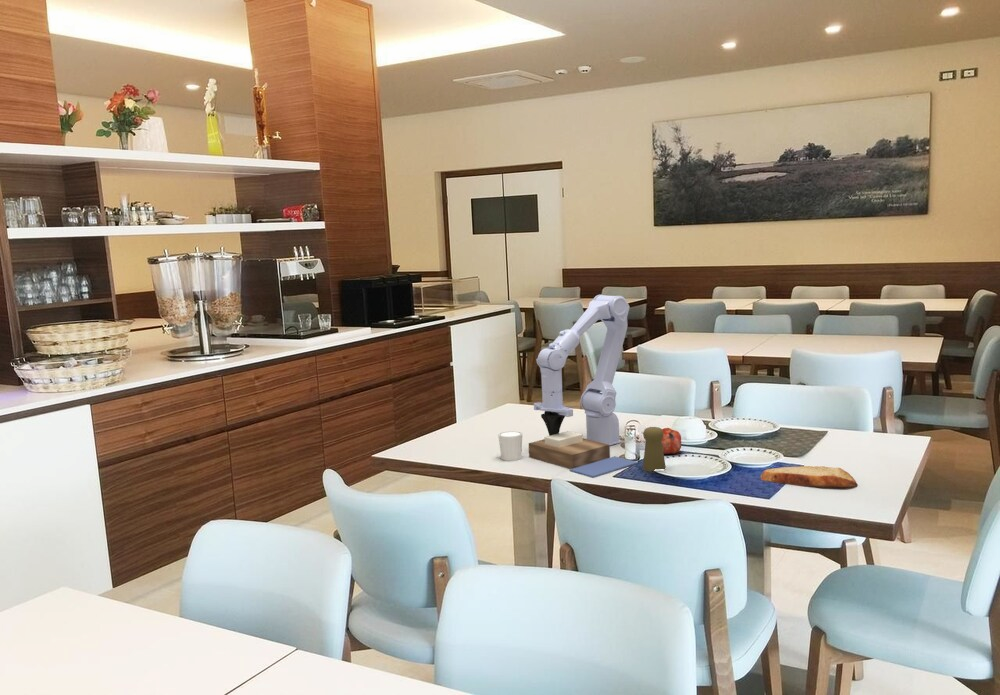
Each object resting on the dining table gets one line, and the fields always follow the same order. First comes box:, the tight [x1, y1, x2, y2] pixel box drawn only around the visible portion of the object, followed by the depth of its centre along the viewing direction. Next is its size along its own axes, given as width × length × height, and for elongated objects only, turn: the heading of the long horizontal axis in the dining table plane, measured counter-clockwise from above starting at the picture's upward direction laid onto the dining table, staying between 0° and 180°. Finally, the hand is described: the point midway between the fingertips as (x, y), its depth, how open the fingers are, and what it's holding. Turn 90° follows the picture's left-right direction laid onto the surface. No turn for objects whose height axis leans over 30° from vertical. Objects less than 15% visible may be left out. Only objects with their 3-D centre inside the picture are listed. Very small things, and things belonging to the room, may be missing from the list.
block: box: [544, 430, 584, 448], centre depth 227 cm, size 9×6×2 cm, turn 128°
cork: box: [642, 426, 667, 473], centre depth 212 cm, size 6×6×11 cm
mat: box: [569, 456, 639, 479], centre depth 216 cm, size 17×9×1 cm, turn 128°
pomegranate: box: [661, 427, 682, 455], centre depth 226 cm, size 7×7×10 cm
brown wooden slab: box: [528, 437, 611, 470], centre depth 226 cm, size 14×18×4 cm
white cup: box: [498, 430, 523, 462], centre depth 229 cm, size 7×7×7 cm
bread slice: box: [759, 465, 859, 489], centre depth 196 cm, size 18×18×4 cm
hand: (554, 437), depth 230 cm, fingers closed
